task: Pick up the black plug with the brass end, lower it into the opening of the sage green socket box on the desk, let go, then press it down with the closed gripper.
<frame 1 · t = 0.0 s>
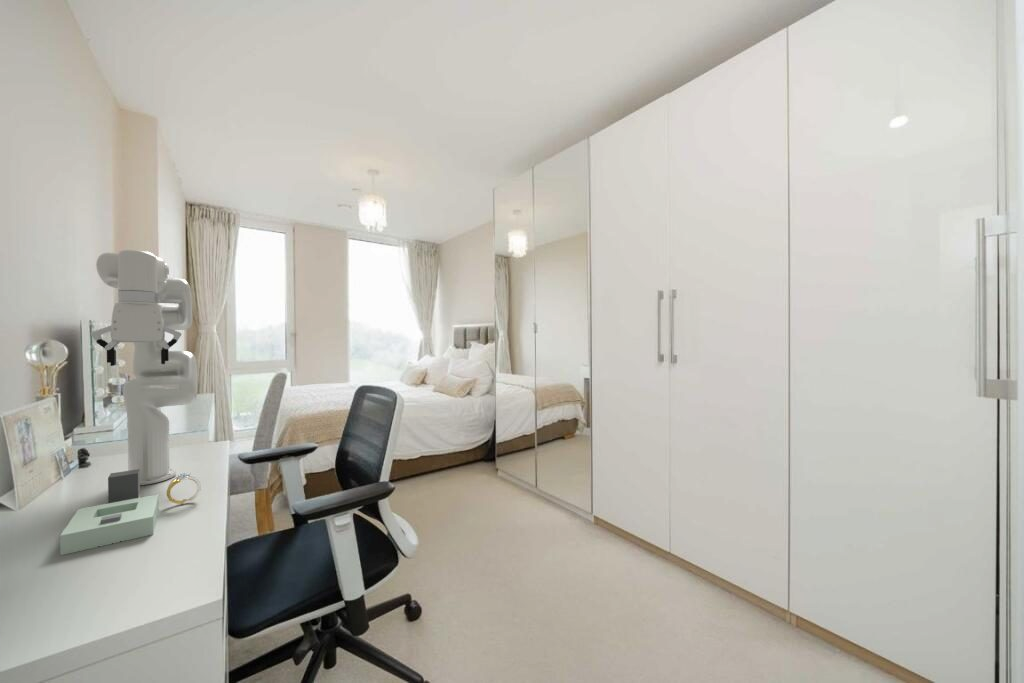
hand: (139, 364, 105), 37 cm above the table, tool pointing down, fingers open, 9 cm apart
ring: (184, 504, 106), on the table
socket: (115, 530, 92), on the table
plug: (124, 508, 104), on the table
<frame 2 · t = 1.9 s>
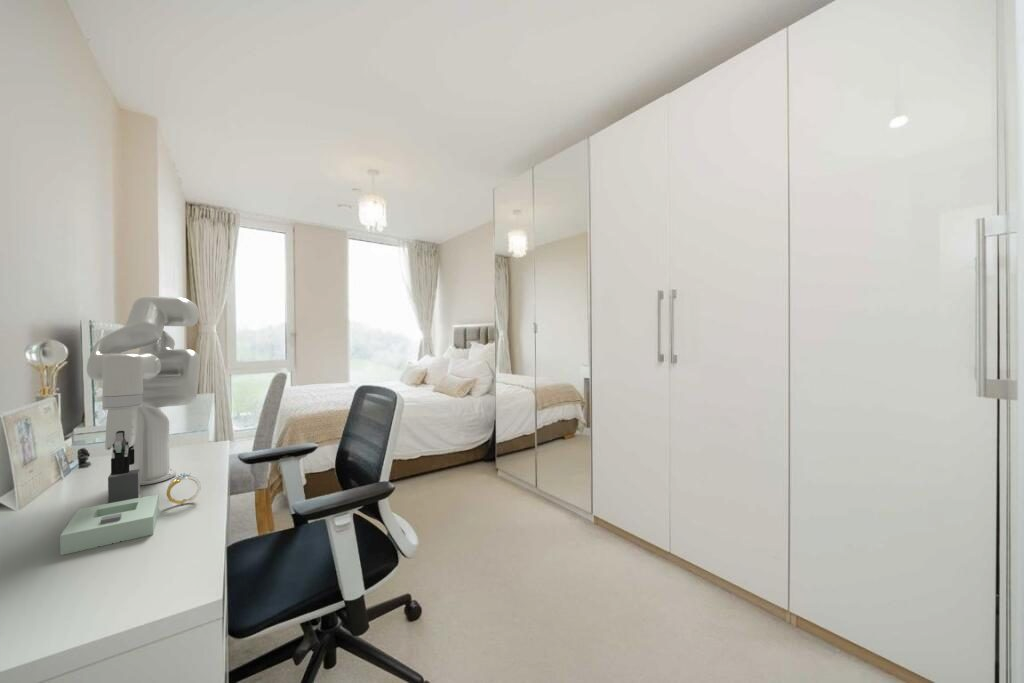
hand: (123, 469, 103), 10 cm above the table, tool pointing down, fingers open, 9 cm apart
nothing on the table moved.
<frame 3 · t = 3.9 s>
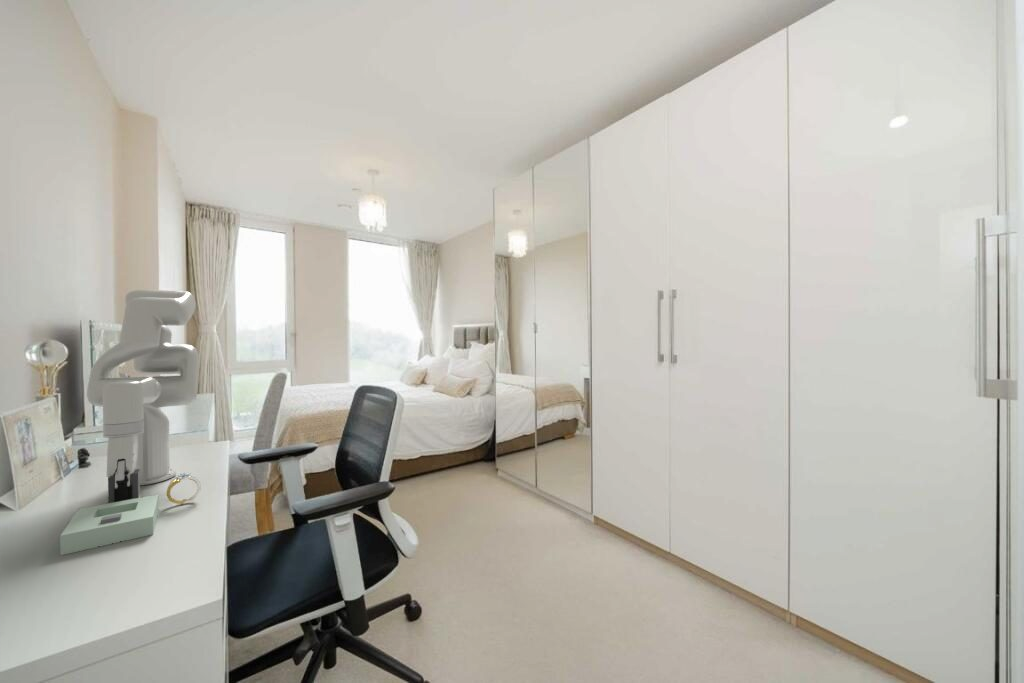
hand: (124, 498, 104), 2 cm above the table, tool pointing down, fingers closed on plug, 4 cm apart
plug: (124, 508, 104), on the table, touching gripper
everything else where it was.
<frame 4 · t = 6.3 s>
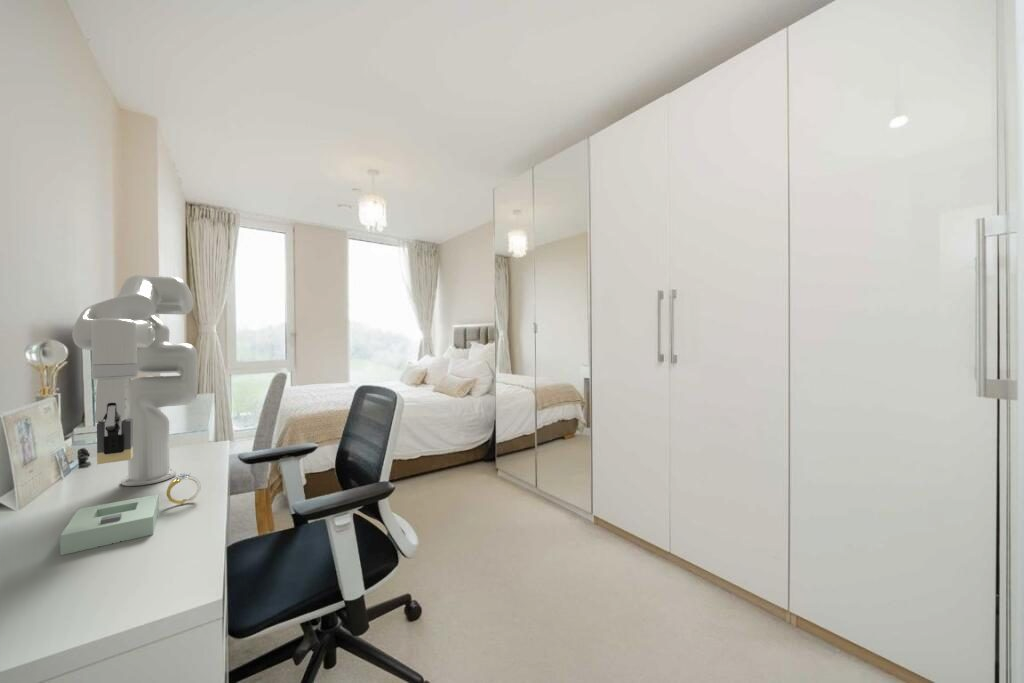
hand: (115, 450, 93), 18 cm above the table, tool pointing down, fingers closed on plug, 4 cm apart
plug: (115, 460, 94), point 15 cm above the table, touching gripper
everything else where it was.
when the fingers open (5 cm above the table, at t = 8.9 s): plug drops 2 cm, resting on socket.
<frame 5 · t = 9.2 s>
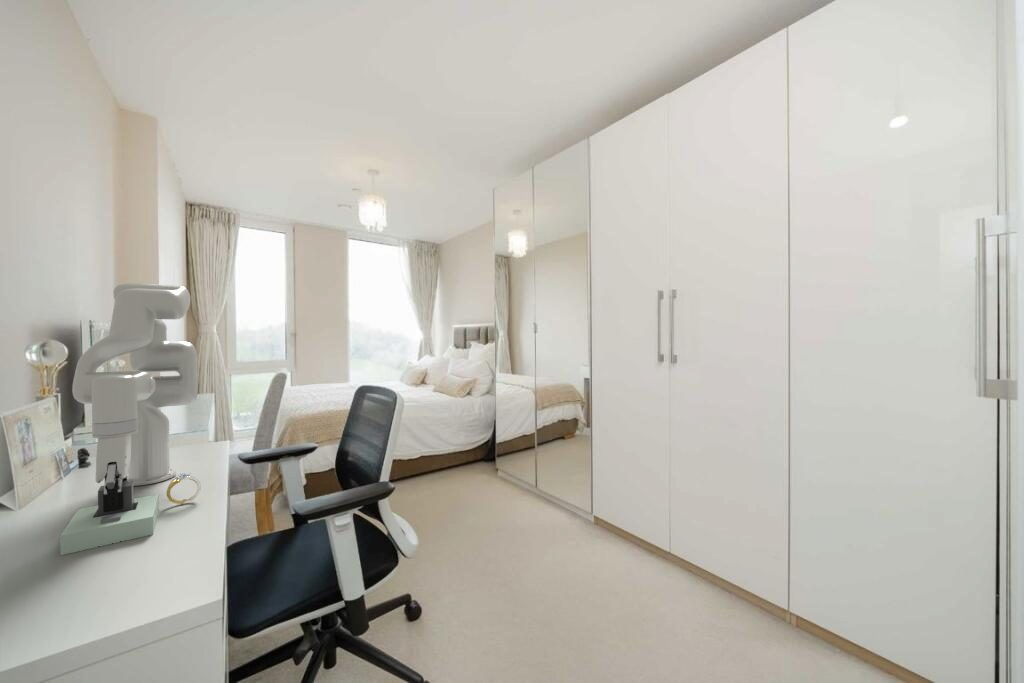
hand: (116, 504, 93), 5 cm above the table, tool pointing down, fingers open, 7 cm apart
plug: (116, 524, 94), resting on socket
everything else where it was.
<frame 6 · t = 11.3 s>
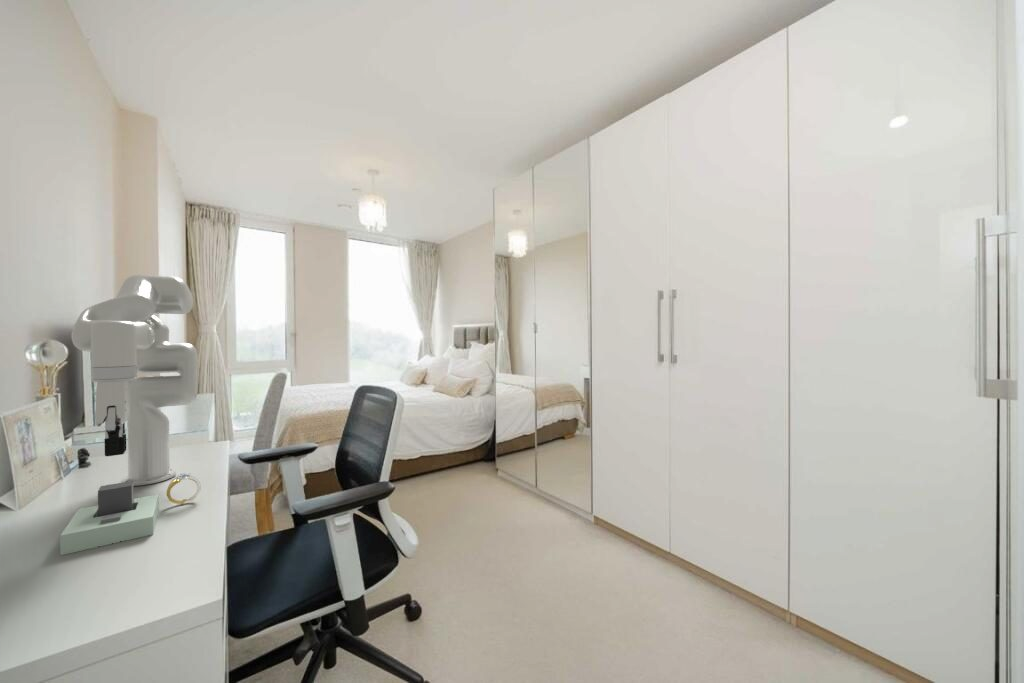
hand: (115, 453, 93), 17 cm above the table, tool pointing down, fingers closed
nothing on the table moved.
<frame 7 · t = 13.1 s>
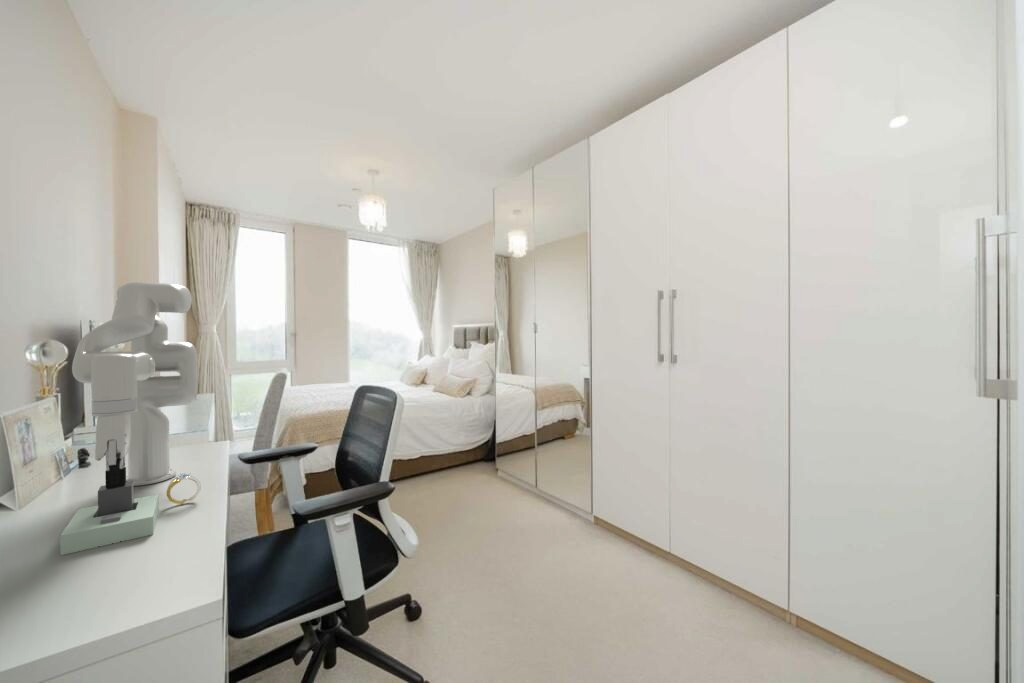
hand: (116, 486, 93), 10 cm above the table, tool pointing down, fingers closed
plug: (116, 524, 94), point 1 cm above the table, touching gripper, socket
everything else where it was.
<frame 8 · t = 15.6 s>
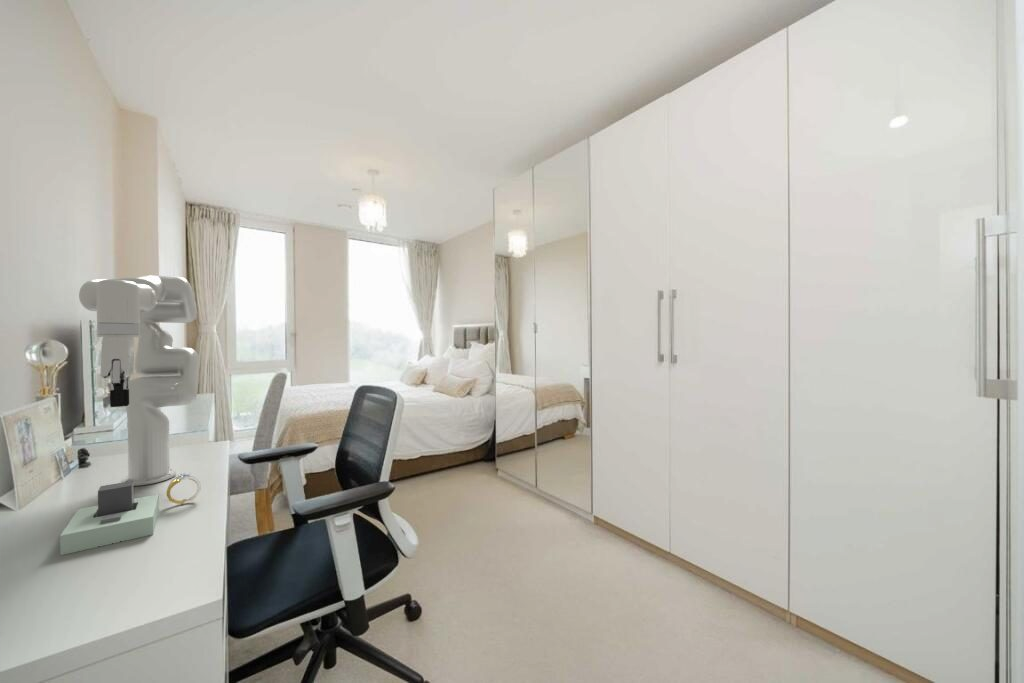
hand: (119, 406, 99), 27 cm above the table, tool pointing down, fingers closed
plug: (116, 524, 94), resting on socket
everything else where it was.
at the end: plug 0.1 cm from the target spot on the socket, point 0.5 cm above the socket's base; plug tilted 0°; the gripper is holding nothing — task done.
